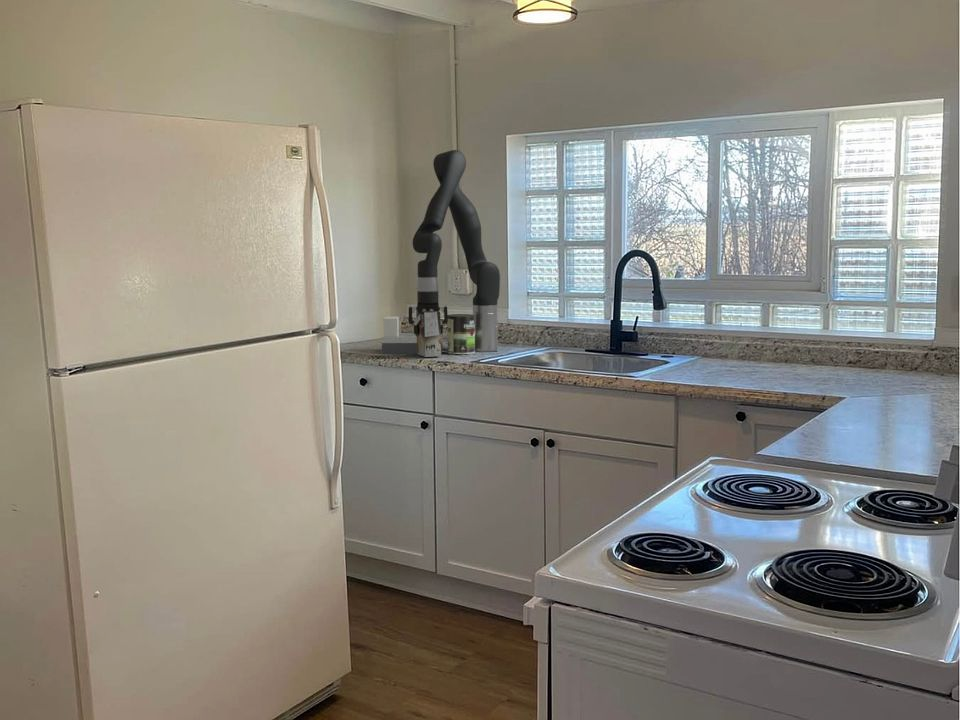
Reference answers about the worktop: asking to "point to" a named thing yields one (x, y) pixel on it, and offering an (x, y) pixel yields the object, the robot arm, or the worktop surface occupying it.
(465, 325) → the coffee can
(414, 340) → the rail
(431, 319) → the coffee box
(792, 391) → the worktop surface
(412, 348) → the rail base
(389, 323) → the block
